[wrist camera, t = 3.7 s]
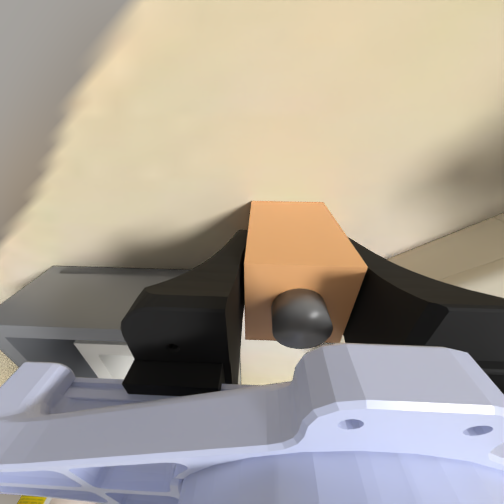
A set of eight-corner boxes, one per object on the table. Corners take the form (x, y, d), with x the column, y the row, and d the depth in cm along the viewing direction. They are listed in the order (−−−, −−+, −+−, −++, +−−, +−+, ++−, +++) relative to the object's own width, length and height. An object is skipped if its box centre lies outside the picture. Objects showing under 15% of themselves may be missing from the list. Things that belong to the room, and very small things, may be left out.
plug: (312, 261, 14) (347, 366, 8) (251, 259, 14) (243, 362, 8) (323, 202, 12) (382, 288, 6) (251, 201, 12) (241, 283, 6)
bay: (241, 387, 23) (237, 447, 19) (124, 382, 24) (94, 439, 20) (236, 271, 15) (226, 333, 11) (53, 265, 15) (-27, 324, 11)
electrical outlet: (758, 299, 10) (362, 388, 16) (630, 251, 13) (344, 338, 19) (877, 155, 7) (325, 333, 12) (669, 141, 10) (311, 285, 16)
